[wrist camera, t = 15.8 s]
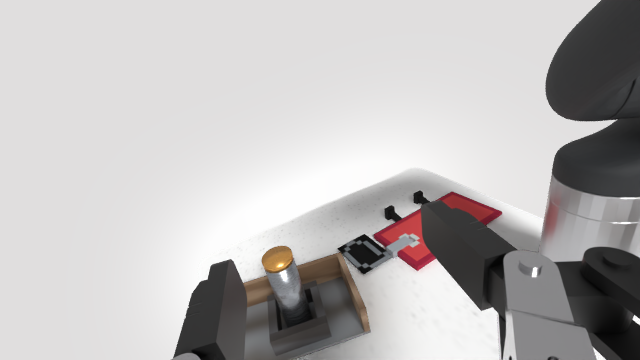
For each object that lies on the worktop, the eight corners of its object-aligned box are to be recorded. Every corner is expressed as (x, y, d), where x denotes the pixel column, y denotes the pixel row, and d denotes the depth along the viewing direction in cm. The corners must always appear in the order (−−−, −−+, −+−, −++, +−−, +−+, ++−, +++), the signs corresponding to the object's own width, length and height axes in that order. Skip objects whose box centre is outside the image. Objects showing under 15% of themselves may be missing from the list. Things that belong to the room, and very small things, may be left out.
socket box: (241, 307, 48) (231, 286, 46) (345, 273, 50) (340, 252, 47) (238, 379, 37) (225, 356, 35) (370, 332, 39) (365, 308, 37)
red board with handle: (333, 247, 57) (382, 296, 44) (330, 236, 55) (381, 283, 43) (438, 191, 68) (501, 217, 55) (438, 180, 66) (502, 205, 54)
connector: (297, 307, 45) (275, 243, 39) (318, 315, 43) (297, 249, 37) (281, 328, 42) (255, 262, 36) (303, 338, 40) (278, 270, 34)
